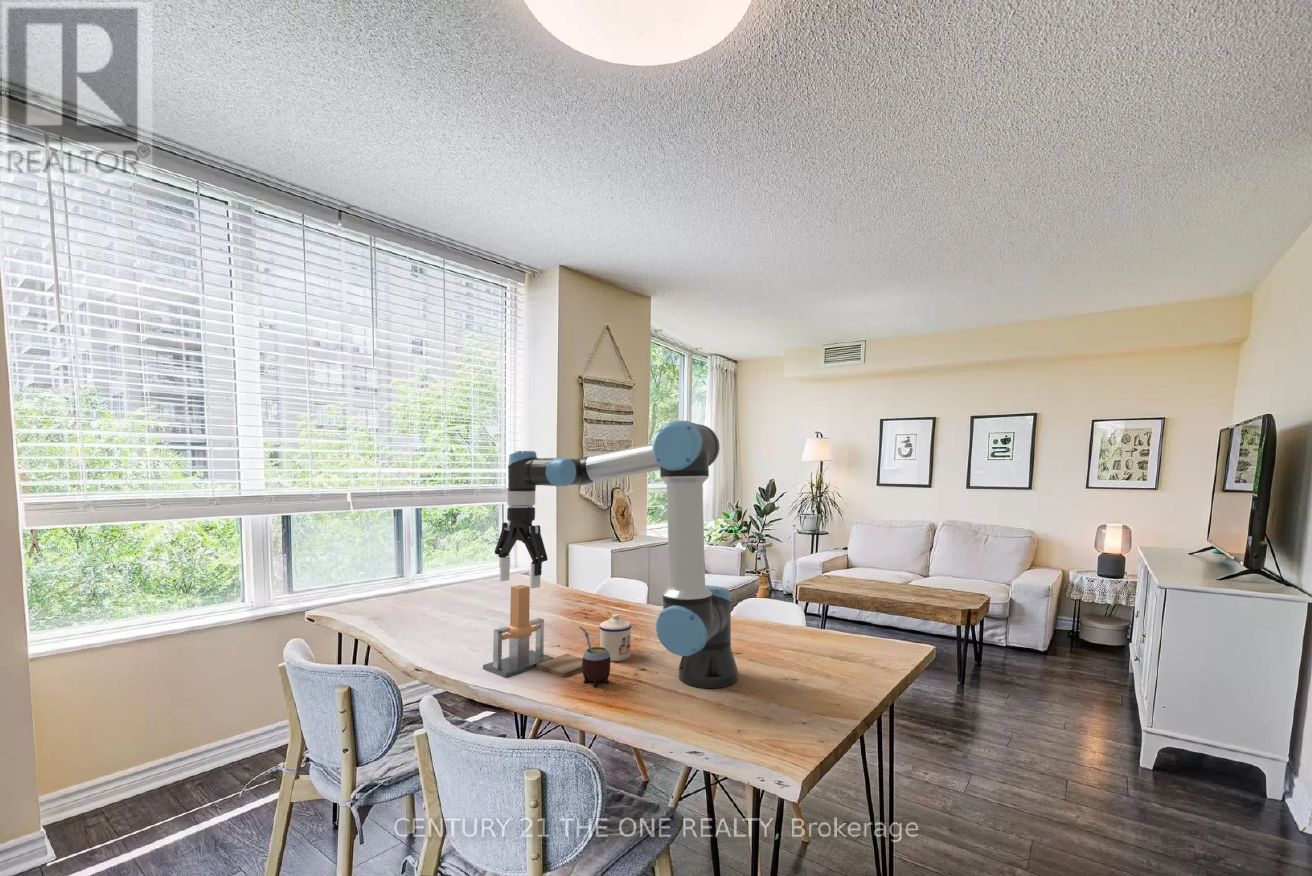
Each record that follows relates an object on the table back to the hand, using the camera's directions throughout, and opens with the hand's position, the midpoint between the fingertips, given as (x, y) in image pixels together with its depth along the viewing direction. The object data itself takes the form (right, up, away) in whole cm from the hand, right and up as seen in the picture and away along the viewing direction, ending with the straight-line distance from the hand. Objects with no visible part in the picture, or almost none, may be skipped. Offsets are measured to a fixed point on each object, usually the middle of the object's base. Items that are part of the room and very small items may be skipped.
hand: (519, 584), depth 153 cm
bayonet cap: (0, -14, -1) cm, 14 cm away
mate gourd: (+22, -21, -15) cm, 34 cm away
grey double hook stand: (0, -22, -1) cm, 22 cm away
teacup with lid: (+26, -22, +7) cm, 35 cm away
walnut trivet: (+13, -22, -3) cm, 25 cm away
